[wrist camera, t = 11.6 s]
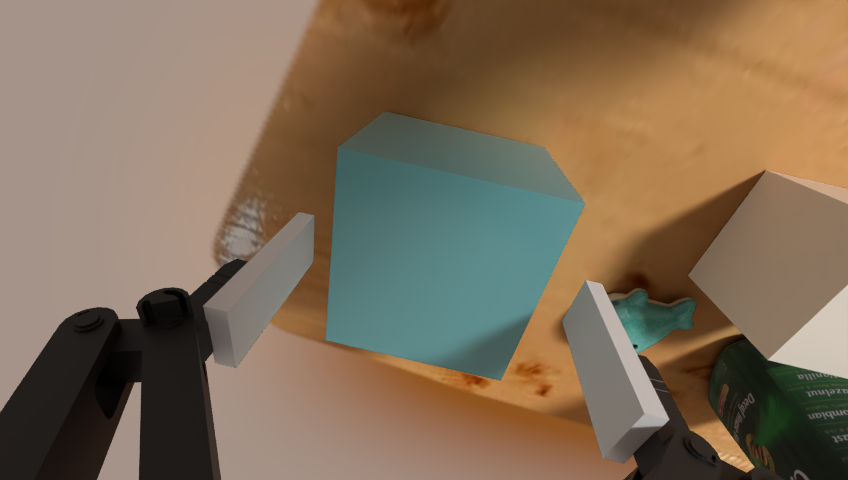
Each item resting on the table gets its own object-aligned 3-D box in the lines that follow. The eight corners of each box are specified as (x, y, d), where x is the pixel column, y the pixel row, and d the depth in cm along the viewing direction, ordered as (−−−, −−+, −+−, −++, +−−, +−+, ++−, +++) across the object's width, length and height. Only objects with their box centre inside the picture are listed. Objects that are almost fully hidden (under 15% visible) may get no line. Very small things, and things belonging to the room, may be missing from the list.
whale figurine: (581, 284, 26) (597, 318, 23) (690, 272, 25) (724, 307, 21) (583, 339, 29) (598, 377, 25) (681, 331, 27) (710, 371, 24)
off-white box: (766, 169, 20) (906, 229, 14) (897, 200, 20) (1101, 274, 14) (687, 275, 24) (767, 360, 18) (796, 301, 24) (917, 395, 18)
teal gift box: (384, 111, 21) (337, 147, 13) (544, 147, 21) (585, 203, 13) (366, 257, 26) (325, 340, 19) (492, 286, 26) (500, 380, 19)
